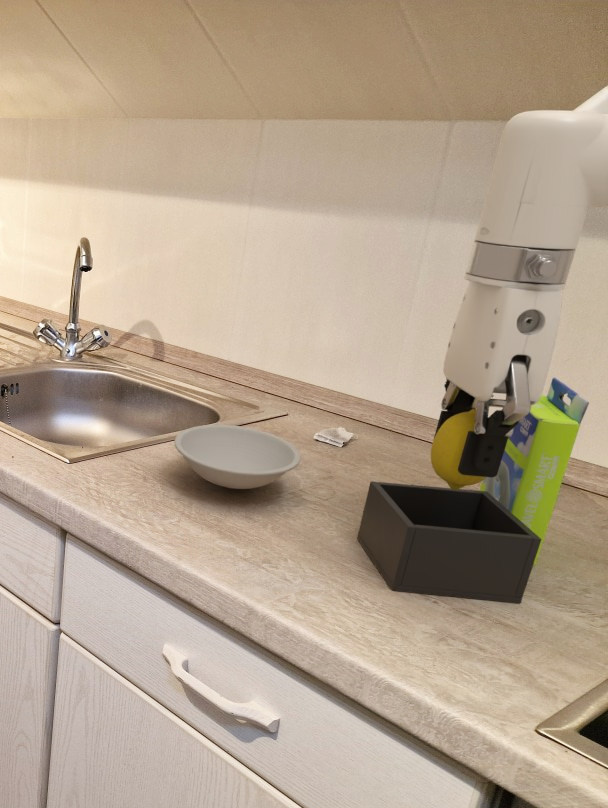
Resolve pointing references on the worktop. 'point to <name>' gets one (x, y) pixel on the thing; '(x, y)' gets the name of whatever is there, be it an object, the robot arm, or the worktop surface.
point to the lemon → (453, 450)
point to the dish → (236, 455)
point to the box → (538, 458)
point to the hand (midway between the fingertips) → (462, 461)
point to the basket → (447, 542)
